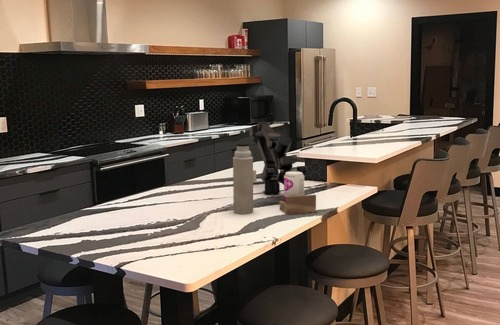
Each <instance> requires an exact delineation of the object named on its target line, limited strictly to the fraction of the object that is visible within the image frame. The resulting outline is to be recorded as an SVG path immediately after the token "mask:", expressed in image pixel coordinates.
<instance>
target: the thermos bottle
mask: <svg viewBox="0 0 500 325" xmlns="http://www.w3.org/2000/svg"><path fill="white" fill-rule="evenodd" d="M233 155H234V156H233V157H232V178H233V179H232V181H233V184H232V186H233V187H232V188H233V190H232V191H233V194H232V196H233V213H234V214H238V215H249V214H252V213H254V182H253V170H254V157H253V156H252V151H250V143H248V142H238V143H236V150H235V151H234V154H233Z"/></svg>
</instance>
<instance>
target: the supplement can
mask: <svg viewBox="0 0 500 325" xmlns="http://www.w3.org/2000/svg"><path fill="white" fill-rule="evenodd" d="M303 195H305V177H304V175H303V173H302V172H299V171H289V172H286V174H285V176H284V185H283V202H285V203H286V197H291V196H303Z"/></svg>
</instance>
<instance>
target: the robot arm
mask: <svg viewBox="0 0 500 325" xmlns="http://www.w3.org/2000/svg"><path fill="white" fill-rule="evenodd" d="M248 133H249V137H250V138H251V140H252V142H253V143H255V144H256V145H257V147H258V150H259V153H260V155H261V158H262V161H263V164H264V166H263V170H262V172H261V174H260V178H261V179H260V180H261V181H262V182H264V195H266V196H267V195H268V196H271V195H273V196H274V195H275V196H276V195H279V194H280V191H281V190H280V183H281V185H283V186H284V176H285V174H286V172H289V171H299V172H302V173H303V175H304V178H305V177H306V174H308V167H307V166H306V165H298V166H296V169H292V168H293V167H294V166H293V165H294V164H296V163H297V162H298V161H299V160H298V159H299V158H298V155H297V154H292V155H287V153H288V152H289V149H290V147H291V144H292V141H293V140H292V138H290V136H288V135H286V133H276V132H275V131H274V129H273V128H272V127H271V126H270V123H269V122H267V121H260V122H257V124H256V125H253V126H252V127H251V128H250V129H249V132H248ZM271 150H272V151H271Z"/></svg>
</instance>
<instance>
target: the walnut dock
mask: <svg viewBox="0 0 500 325" xmlns="http://www.w3.org/2000/svg"><path fill="white" fill-rule="evenodd" d="M279 210H280V211H281V212H283V213H284V214H285V215H286V216H287V215H289V216H290V215H299V214H300V213H301V214H310V213H309V212H312V213H316V212H317V195H316V194H304V195H303V196H291V197H286V203H285V202H284V200H280V201H279Z"/></svg>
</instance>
